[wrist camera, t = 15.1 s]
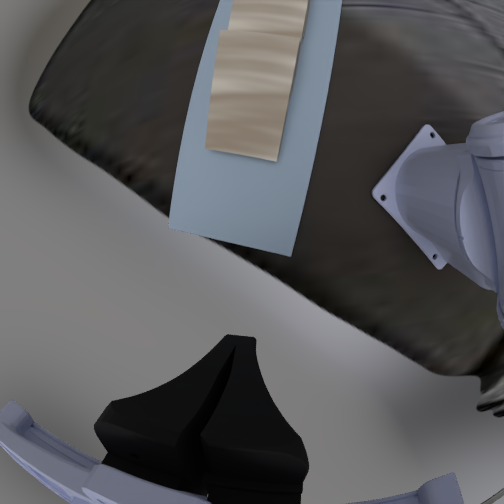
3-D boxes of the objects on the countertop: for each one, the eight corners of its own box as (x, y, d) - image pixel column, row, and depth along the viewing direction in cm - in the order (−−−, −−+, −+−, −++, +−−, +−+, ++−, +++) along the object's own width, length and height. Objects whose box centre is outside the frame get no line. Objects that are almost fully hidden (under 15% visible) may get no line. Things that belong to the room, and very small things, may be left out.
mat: (290, 255, 21) (290, 256, 21) (170, 227, 22) (168, 228, 21) (346, -49, 11) (347, -51, 11) (248, -61, 12) (247, -64, 11)
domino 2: (276, 161, 17) (300, 38, 12) (205, 148, 18) (220, 29, 12) (279, 155, 19) (300, 42, 13) (212, 143, 19) (227, 33, 14)
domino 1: (291, 92, 16) (310, -13, 11) (219, 82, 16) (237, -20, 11) (292, 92, 17) (310, -6, 12) (226, 82, 17) (242, -13, 12)
